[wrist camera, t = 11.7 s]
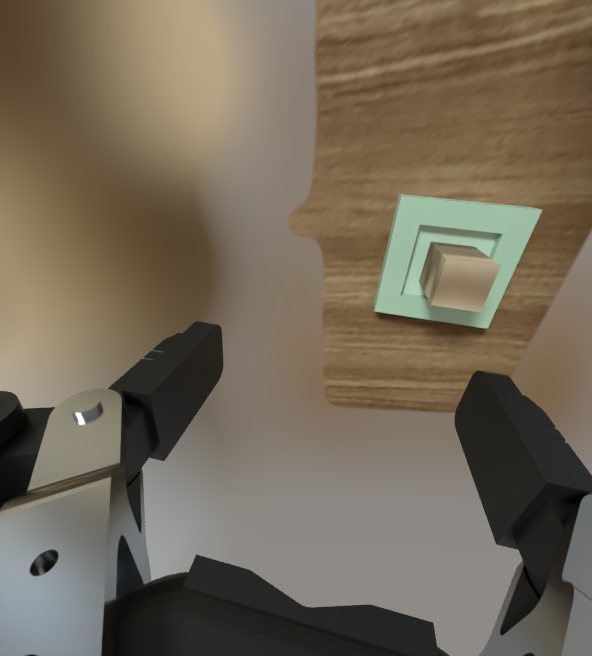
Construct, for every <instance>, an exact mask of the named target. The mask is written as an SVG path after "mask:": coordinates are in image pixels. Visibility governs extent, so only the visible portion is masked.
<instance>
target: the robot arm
mask: <svg viewBox="0 0 592 656" xmlns="http://www.w3.org/2000/svg"><path fill="white" fill-rule="evenodd" d="M222 370H223V348H222V332H221V327H220V326H219V325H216V324H211V323H205V322H199V321H196V322H194V323H193V324H192V325H191V326H190V327H189V328H188V329H187V330H186V331H185V332H183V333H178V334H176V335H173V336H171V337H169V338H167V339H165V340H163V341H162V342H161V343H160V344H158V345H157V346H156V347H155V348H154V349H153V351H150V352H149V353H148V354H147V355H146V356H145V357H144V359H141V360H140V361H139V362H138V363H137V364H135V365H134V366H133V367H132V368H131V369H130V370H129V371H127V372H126V373H125V374H124V375H123V376H122V377H120V378H119V379H118V380H117V381H116V382H115V383H114V384H112V385H111V386H110V387H109V388H108V389H105V388H104V389H103V388H98V389H91V390H86V391H83V392H80V393H77V394H75V395H73V396H71V397H69V398H67V399H65V400H64V401H62V402H61V403H60V404H59V405H57V407H52V408H32V409H31V408H30V409H23V407H22V405H21V403H20V401H19V399H18V397H17V396H16V395H15V394H13V393H11V392H6V391H0V656H449V655H448V654H447V653H445V652H444V651H443V650H441V649H440V648H438V647H437V644H436V637H435V631H434V625H433V623H432V622H429V621H425V620H422V619H419V618H415V617H412V616H408V615H404V614H401V613H398V612H394V611H391V610H387V609H384V608H380V607H377V606H373V605H353V606H334V607H316V608H310V607H305V606H302V605H301V604H299V603H297V602H296V601H295V600H293V599H292V598H290V597H289V596H287V595H286V594H284V593H283V592H281V591H280V590H278V589H277V588H275V587H274V586H273V585H271V584H270V583H268V582H267V581H265V580H263V579H262V578H261V577H259V576H258V575H256V574H255V573H253V572H252V571H250V570H248V569H244V568H241V567H238V566H234V565H231V564H227V563H224V562H220V561H217V560H213V559H210V558H206V557H203V556H199V555H196V557H195V559H194V561H193V564H192V566H191V568H190V571H189V572H184V573H178V574H173V575H168V576H165V577H162V578H159V579H156V580H153V581H151V573H150V565H149V558H148V554H147V547H146V537H145V515H144V513H145V512H144V488H143V471H142V466H143V465H144V464H145V462H146V461H147V460H148V458H153V459H157V460H162V461H165V459H166V458H167V456H168V455H169V453H170V452H171V450H172V449H173V447H174V446H175V445H176V443H177V442H178V440H179V439H180V437H181V436H182V434H183V433H184V431H185V430H186V428H187V427H188V425H189V424H190V422H191V421H192V419H193V418H194V416H195V415H196V414H197V412H198V411H199V409H200V408H201V406H202V404H203V403H204V402H205V400H206V399H207V397H208V396H209V394H210V393H211V391H212V390H213V388H214V387H215V385H216V384H217V382H218V381H219V379H220V377H221V374H222ZM455 428H456V431H457V434H458V437H459V439H460V442H461V445H462V448H463V451H464V453H465V457H466V459H467V462H468V465H469V468H470V471H471V474H472V476H473V479H474V482H475V485H476V488H477V491H478V493H479V496H480V499H481V502H482V505H483V508H484V511H485V514H486V516H487V519H488V522H489V525H490V527H491V531H492V533H493V536H494V539H495V542H496V544H497V545H502V546H506V547H510V548H514V549H518V550H519V551H520V554H521V556H522V559H523V561H522V562H521V563H520V564H519V565H518V566H517V568H516V571H515V573H514V576H513V578H512V581H511V584H510V586H509V589H508V591H507V594H506V597H505V599H504V602H503V605H502V607H501V609H500V612H499V615H498V617H497V620H496V623H495V625H494V628H493V630H492V633H491V636H490V638H489V640H488V642H487V644H486V646H485V647H484V649H483V650H482V652H481V653H480V654H479V656H592V475H591V474H590V473H589V471H588V470H587V469H586V467H585V466H584V465H583V464H582V462H581V461H580V459H579V458H578V456H577V455H576V454H575V452H574V451H573V450H572V448H571V447H570V446H569V445H568V444H567V443H565V439H564V438H563V436H562V435H561V434H560V432H559V431H558V430H556V429H555V425H554V424H553V423H552V421H551V420H550V419H549V417H548V416H547V414H546V413H545V412H544V411H543V410H542V409H541V408H540V407H539V406H537V405H536V404H535V403H534V402H533V401H531V400H530V399H529V398H528V397H526V396H523V395H522V394H521V393H520V391H519V390H518V388H517V387H516V385H515V384H514V382H513V381H512V380H511V378H510V377H509V376H507V375H503V374H497V373H491V372H486V371H479V370H478V371H476V372H475V373H474V374H473V375H472V377H471V379H470V381H469V383H468V386H467V388H466V390H465V392H464V394H463V396H462V398H461V400H460V402H459V405H458V407H457V409H456V413H455Z"/></svg>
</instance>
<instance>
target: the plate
mask: <svg viewBox="0 0 592 656" xmlns="http://www.w3.org/2000/svg"><path fill="white" fill-rule="evenodd" d="M541 212H542V210H541V209H537V208H533V207H525V206H515V205H505V204H495V203H485V202H475V201H465V200H455V199H445V198H435V197H425V196H415V195H405V194H399V196H398V201H397V205H396V209H395V214H394V218H393V222H392V227H391V231H390V236H389V240H388V244H387V249H386V253H385V257H384V262H383V266H382V270H381V275H380V279H379V284H378V288H377V292H376V297H375V301H374V311H375V312H382V313H388V314H395V315H401V316H408V317H414V318H421V319H427V320H434V321H440V322H446V323H453V324H459V325H466V326H472V327H479V328H485V329H488V327H489V325H490V322H491V320H492V318H493V316H494V314H495V312H496V309H497V307H498V305H499V303H500V301H501V299H502V296H503V294H504V292H505V290H506V288H507V286H508V283H509V281H510V279H511V277H512V275H513V272H514V270H515V268H516V266H517V264H518V262H519V259H520V257H521V255H522V253H523V251H524V249H525V246H526V244H527V242H528V240H529V238H530V236H531V233H532V231H533V229H534V227H535V225H536V223H537V220H538V218H539V216H540V214H541ZM430 242H440V243H448V244H456V245H465V246H473V247H476V248H477V249H479V250H480V251H481V252H483V253H484V254H485V255H487V256H488V257H490V258H491V259H492V260H494V261H495V262H497V263H498V264H499V265H501V267H500V269H499V272H498V274H497V276H496V279H495V281H494V283H493V286H492V288H491V290H490V292H489V295H488V297H487V299H486V302H485V304H484V306H483V309H482V311H481V312H474V311H468V310H461V309H454V308H447V307H440V306H434V305H431V304H430V302H429V300H428V298H427V296H426V294H425V292H424V290H423V288H422V286H421V284H420V282H419V279H420V276H421V272H422V269H423V266H424V262H425V259H426V256H427V252H428V249H429V246H430Z"/></svg>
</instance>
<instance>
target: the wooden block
mask: <svg viewBox="0 0 592 656" xmlns="http://www.w3.org/2000/svg"><path fill="white" fill-rule="evenodd" d="M500 267H501V265H499V264H498V263H497V262H495V261H494V260H492V259H491V258H490V257H488V256H487V255H485V254H484V253H483V252H481V251H480V250H479V249H477V248H476V247H473V246H465V245H456V244H448V243H440V242H430V246H429V249H428V252H427V256H426V259H425V262H424V266H423V269H422V272H421V276H420V279H419V282H420V284H421V286H422V288H423V290H424V292H425V294H426V296H427V298H428V300H429V302H430V304H431V305H434V306H440V307H447V308H454V309H461V310H468V311H474V312H481V311H482V309H483V306H484V304H485V302H486V299H487V297H488V295H489V292H490V290H491V288H492V286H493V283H494V281H495V279H496V276H497V274H498V272H499V269H500Z"/></svg>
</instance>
